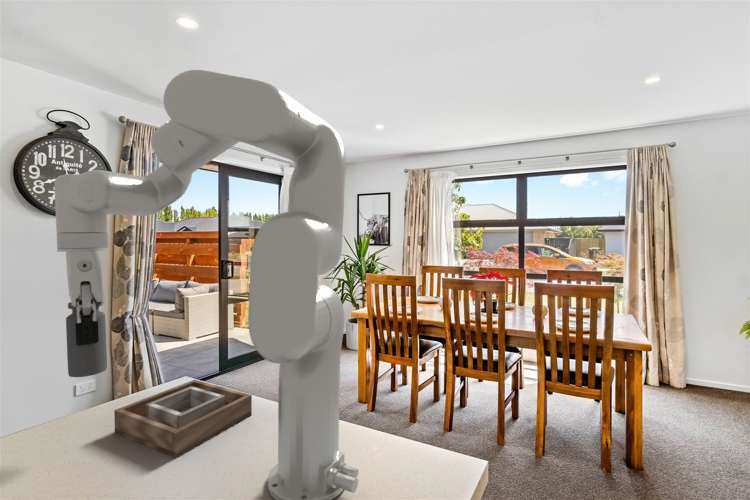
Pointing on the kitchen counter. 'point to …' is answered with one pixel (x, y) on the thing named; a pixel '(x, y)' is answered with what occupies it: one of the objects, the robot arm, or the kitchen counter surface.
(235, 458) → the kitchen counter surface
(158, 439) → the walled box
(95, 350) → the bottle
